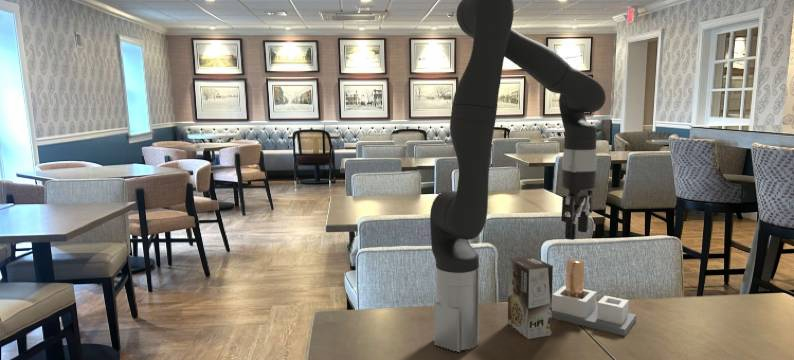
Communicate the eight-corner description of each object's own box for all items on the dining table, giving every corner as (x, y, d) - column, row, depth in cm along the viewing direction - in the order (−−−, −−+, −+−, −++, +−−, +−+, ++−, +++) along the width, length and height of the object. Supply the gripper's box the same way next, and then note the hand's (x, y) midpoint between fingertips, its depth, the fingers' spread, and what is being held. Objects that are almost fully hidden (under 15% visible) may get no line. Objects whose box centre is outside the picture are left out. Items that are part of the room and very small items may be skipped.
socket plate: (624, 336, 112) (625, 312, 111) (550, 317, 122) (550, 295, 121) (636, 320, 119) (637, 298, 119) (565, 304, 130) (565, 284, 129)
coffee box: (552, 335, 113) (554, 266, 110) (527, 340, 111) (528, 269, 109) (530, 319, 121) (531, 254, 119) (506, 323, 119) (507, 257, 117)
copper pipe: (579, 313, 121) (581, 265, 119) (562, 309, 123) (564, 262, 121) (585, 308, 124) (586, 260, 122) (568, 304, 126) (570, 258, 124)
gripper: (573, 164, 126) (571, 227, 128) (551, 170, 115) (549, 239, 117) (604, 166, 122) (601, 231, 124) (585, 172, 111) (582, 244, 113)
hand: (576, 235), depth 121 cm, fingers open, 8 cm apart
